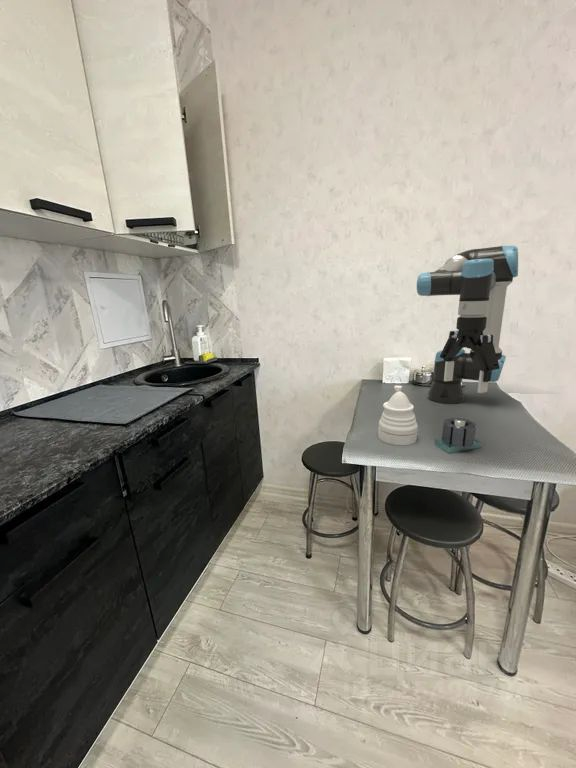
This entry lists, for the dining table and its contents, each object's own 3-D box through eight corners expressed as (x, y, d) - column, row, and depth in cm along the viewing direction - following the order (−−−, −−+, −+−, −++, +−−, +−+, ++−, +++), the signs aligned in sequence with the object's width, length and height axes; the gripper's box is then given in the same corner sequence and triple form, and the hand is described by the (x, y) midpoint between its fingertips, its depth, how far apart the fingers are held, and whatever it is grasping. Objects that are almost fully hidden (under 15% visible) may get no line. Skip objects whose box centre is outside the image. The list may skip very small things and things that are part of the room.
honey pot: (374, 430, 117) (376, 383, 112) (409, 429, 117) (412, 382, 112) (383, 445, 105) (386, 394, 100) (422, 444, 104) (426, 393, 99)
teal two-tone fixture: (464, 439, 107) (467, 414, 104) (480, 447, 101) (483, 421, 98) (434, 444, 104) (436, 419, 102) (448, 453, 98) (451, 426, 96)
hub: (458, 433, 107) (460, 416, 105) (480, 444, 99) (482, 426, 97) (436, 436, 105) (437, 420, 103) (456, 448, 97) (458, 430, 95)
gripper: (431, 314, 102) (426, 377, 108) (499, 319, 79) (488, 399, 84) (451, 313, 104) (445, 375, 110) (523, 317, 80) (510, 396, 86)
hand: (464, 386), depth 97 cm, fingers open, 13 cm apart
